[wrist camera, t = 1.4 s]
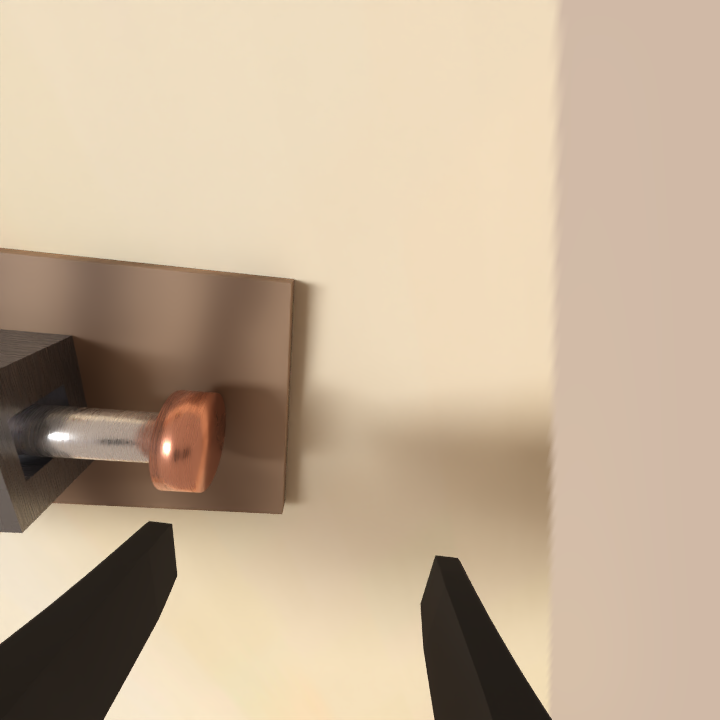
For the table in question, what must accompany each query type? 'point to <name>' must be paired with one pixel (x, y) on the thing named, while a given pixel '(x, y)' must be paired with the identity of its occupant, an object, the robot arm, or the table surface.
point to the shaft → (133, 437)
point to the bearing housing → (13, 394)
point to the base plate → (167, 363)
